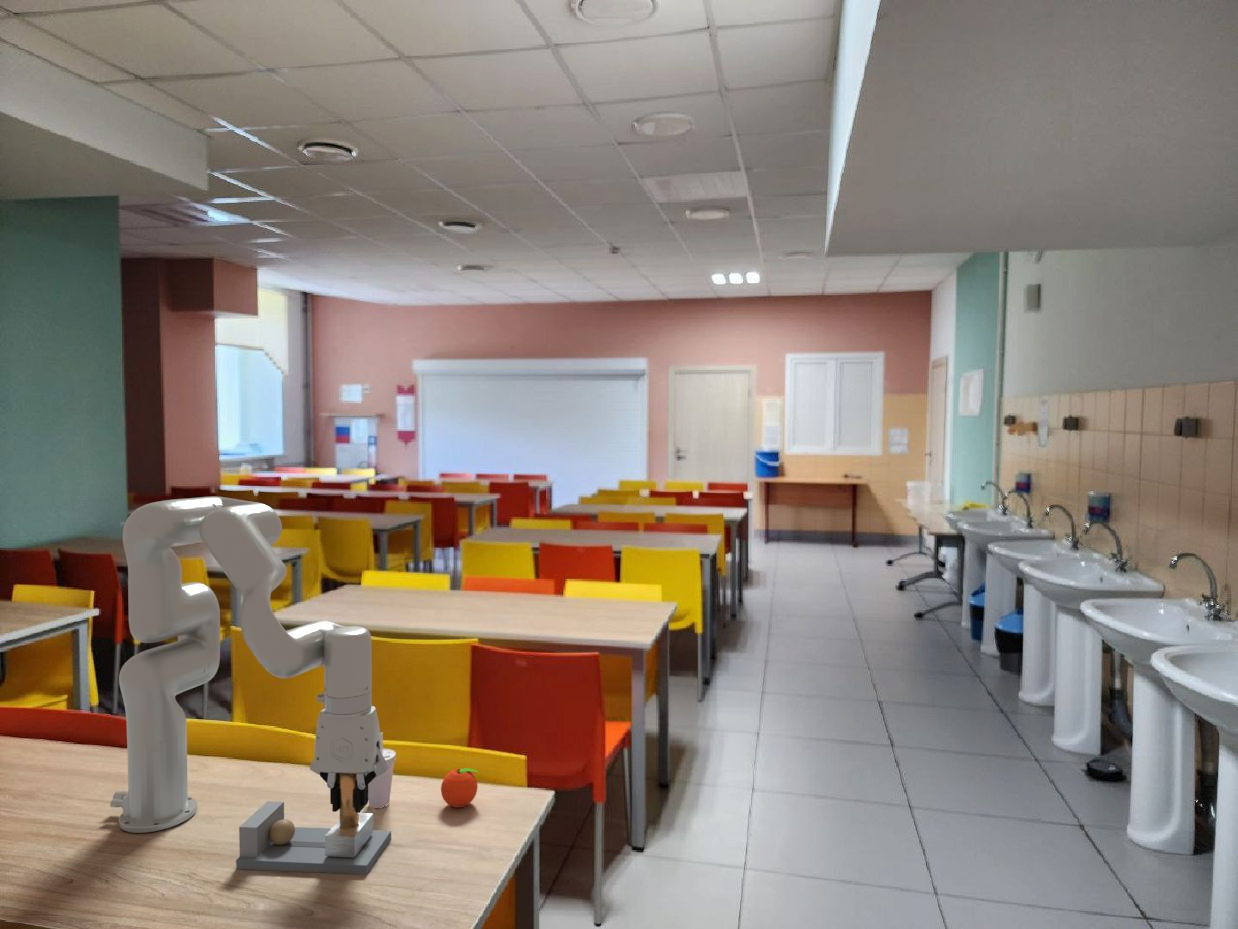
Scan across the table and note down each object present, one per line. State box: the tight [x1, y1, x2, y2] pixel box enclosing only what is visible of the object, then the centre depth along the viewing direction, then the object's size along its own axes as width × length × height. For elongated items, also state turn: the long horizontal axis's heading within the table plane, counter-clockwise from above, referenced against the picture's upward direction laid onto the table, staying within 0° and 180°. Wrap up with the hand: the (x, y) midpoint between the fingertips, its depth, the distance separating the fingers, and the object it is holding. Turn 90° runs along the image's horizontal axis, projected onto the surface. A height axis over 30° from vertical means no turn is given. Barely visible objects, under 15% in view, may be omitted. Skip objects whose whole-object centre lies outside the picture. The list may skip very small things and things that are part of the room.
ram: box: [325, 773, 374, 857], centre depth 131 cm, size 5×8×15 cm, turn 176°
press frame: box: [235, 800, 392, 875], centre depth 132 cm, size 22×11×6 cm, turn 86°
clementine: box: [440, 767, 482, 808], centre depth 150 cm, size 8×7×7 cm
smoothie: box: [368, 732, 397, 809], centre depth 150 cm, size 6×6×14 cm
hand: (349, 807), depth 131 cm, fingers closed on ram, 3 cm apart
